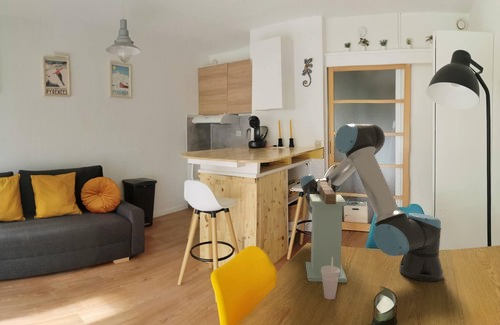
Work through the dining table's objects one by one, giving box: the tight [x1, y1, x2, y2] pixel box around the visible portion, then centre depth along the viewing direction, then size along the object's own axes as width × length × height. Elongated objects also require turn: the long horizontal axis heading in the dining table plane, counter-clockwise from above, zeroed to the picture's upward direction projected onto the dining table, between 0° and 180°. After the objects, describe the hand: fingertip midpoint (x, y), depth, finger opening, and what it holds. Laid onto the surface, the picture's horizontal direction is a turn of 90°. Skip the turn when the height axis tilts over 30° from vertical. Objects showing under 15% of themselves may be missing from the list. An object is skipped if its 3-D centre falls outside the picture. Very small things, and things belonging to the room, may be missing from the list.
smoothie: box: [321, 257, 340, 300], centre depth 115 cm, size 6×6×14 cm
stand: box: [305, 194, 348, 284], centre depth 131 cm, size 14×14×30 cm
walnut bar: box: [319, 181, 337, 204], centre depth 132 cm, size 26×4×4 cm, turn 175°
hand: (324, 182), depth 136 cm, fingers closed on walnut bar, 3 cm apart
